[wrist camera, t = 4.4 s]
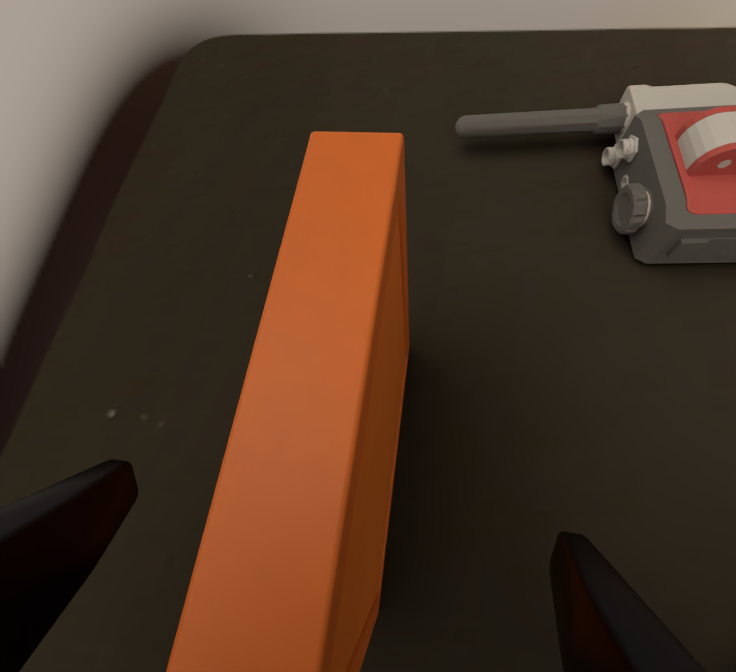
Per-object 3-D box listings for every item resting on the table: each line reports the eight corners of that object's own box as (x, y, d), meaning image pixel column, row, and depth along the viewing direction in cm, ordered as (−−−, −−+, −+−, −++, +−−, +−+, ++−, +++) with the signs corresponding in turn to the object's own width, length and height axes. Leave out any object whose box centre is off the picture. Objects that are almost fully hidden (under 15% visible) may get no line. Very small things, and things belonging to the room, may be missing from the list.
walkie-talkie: (868, 112, 20) (452, 133, 22) (987, 10, 16) (460, 50, 18) (960, 266, 16) (458, 273, 19) (1141, 188, 12) (470, 209, 15)
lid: (378, 615, 14) (282, 918, 4) (327, 604, 14) (111, 861, 4) (409, 345, 18) (404, 131, 7) (369, 341, 18) (310, 129, 8)
